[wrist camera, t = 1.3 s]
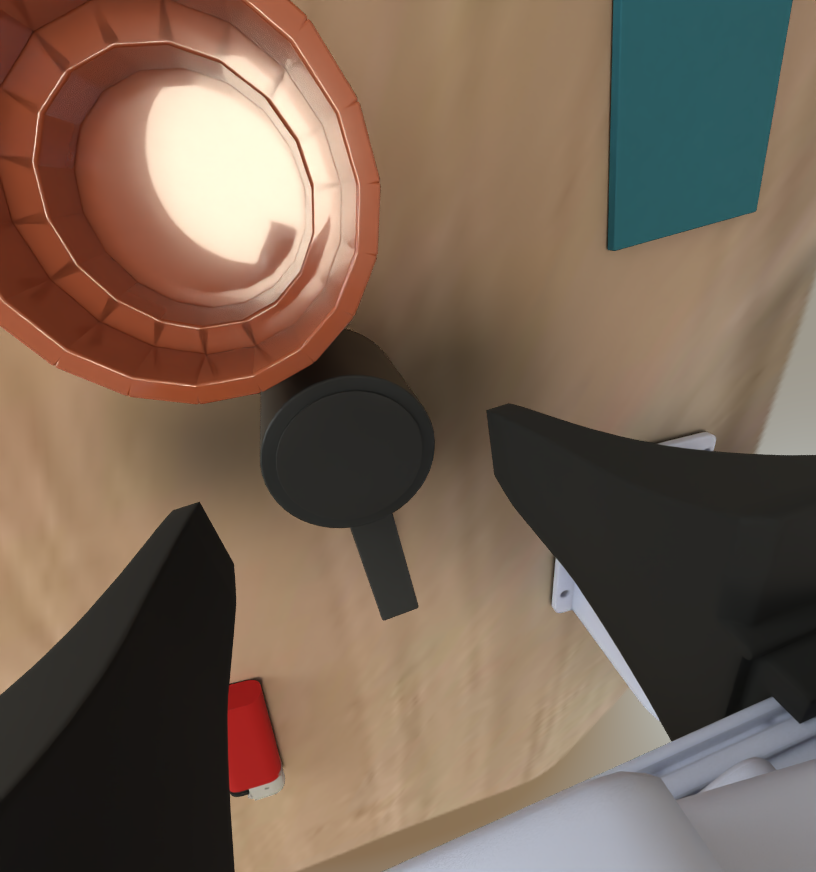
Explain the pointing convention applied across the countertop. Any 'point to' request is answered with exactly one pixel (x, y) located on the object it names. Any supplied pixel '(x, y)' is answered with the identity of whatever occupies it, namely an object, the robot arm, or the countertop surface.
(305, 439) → the scoop
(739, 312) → the countertop surface
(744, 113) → the cloth
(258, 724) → the lighter
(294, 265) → the bowl
